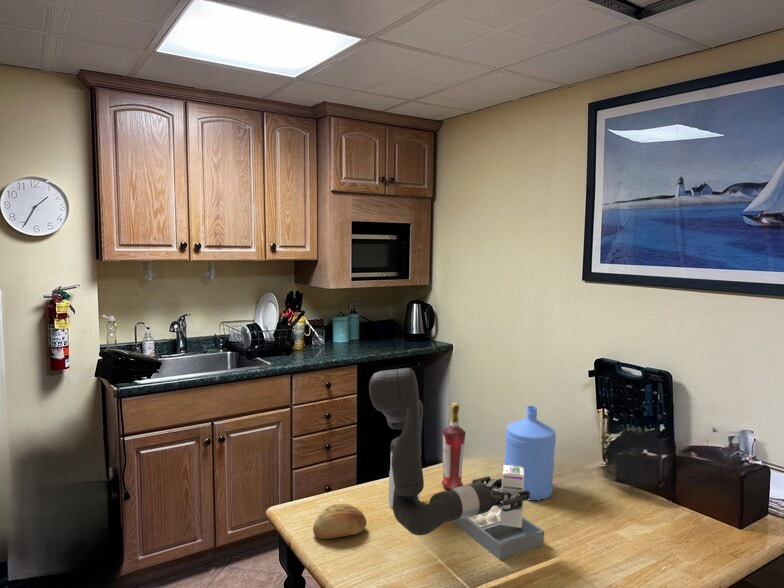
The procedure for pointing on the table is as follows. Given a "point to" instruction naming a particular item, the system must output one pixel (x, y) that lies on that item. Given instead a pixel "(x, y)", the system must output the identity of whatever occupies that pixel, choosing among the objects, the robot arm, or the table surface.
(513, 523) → the syrup box
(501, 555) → the tray
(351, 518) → the bread roll
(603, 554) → the table surface
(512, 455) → the water jug
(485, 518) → the egg carton
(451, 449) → the liquor
